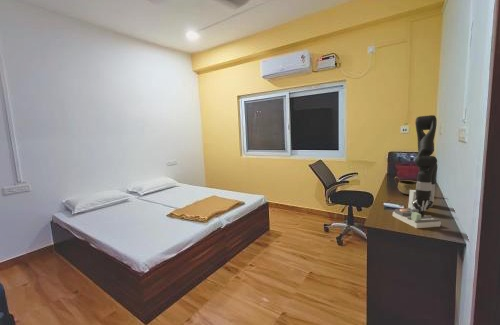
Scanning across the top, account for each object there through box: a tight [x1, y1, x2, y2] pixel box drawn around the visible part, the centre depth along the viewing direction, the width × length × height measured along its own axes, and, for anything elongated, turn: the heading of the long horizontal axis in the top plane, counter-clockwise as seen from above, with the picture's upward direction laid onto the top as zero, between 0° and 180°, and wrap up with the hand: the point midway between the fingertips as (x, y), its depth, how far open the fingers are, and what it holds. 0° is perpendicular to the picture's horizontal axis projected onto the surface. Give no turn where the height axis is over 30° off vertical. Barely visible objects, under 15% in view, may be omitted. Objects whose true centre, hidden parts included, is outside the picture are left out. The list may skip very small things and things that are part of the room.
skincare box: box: [407, 190, 418, 208], centre depth 171 cm, size 8×6×15 cm
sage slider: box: [411, 212, 421, 221], centre depth 147 cm, size 4×3×4 cm
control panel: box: [392, 207, 442, 229], centre depth 154 cm, size 20×16×5 cm
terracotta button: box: [398, 208, 409, 212], centre depth 158 cm, size 5×5×2 cm
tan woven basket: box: [394, 176, 417, 196], centre depth 213 cm, size 22×17×15 cm
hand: (421, 216), depth 147 cm, fingers closed
